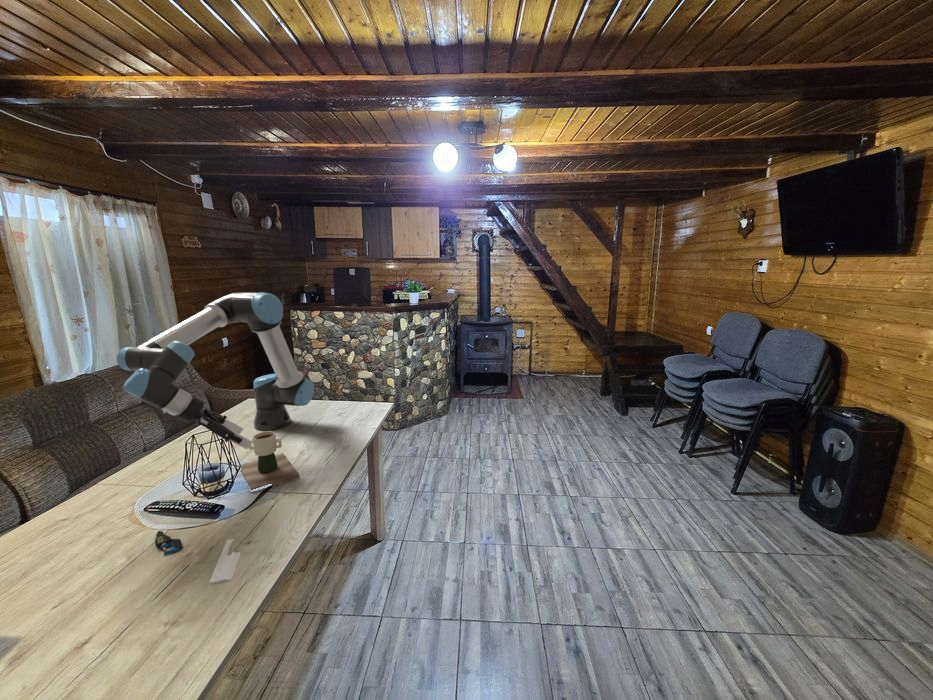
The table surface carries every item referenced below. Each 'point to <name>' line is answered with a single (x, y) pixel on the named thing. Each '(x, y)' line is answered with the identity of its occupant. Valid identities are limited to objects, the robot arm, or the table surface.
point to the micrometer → (167, 543)
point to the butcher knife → (225, 564)
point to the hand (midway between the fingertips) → (245, 438)
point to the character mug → (265, 450)
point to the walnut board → (269, 473)
